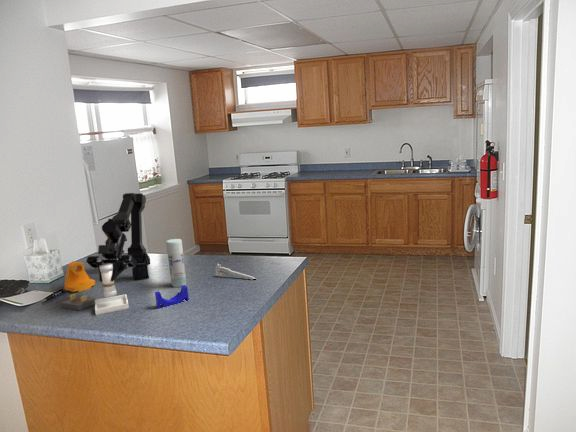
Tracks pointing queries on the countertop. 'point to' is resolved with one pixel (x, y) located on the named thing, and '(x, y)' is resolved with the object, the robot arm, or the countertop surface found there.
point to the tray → (111, 304)
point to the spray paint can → (176, 262)
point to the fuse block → (78, 302)
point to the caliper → (230, 272)
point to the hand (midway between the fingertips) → (106, 281)
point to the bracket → (77, 278)
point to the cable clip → (174, 300)
